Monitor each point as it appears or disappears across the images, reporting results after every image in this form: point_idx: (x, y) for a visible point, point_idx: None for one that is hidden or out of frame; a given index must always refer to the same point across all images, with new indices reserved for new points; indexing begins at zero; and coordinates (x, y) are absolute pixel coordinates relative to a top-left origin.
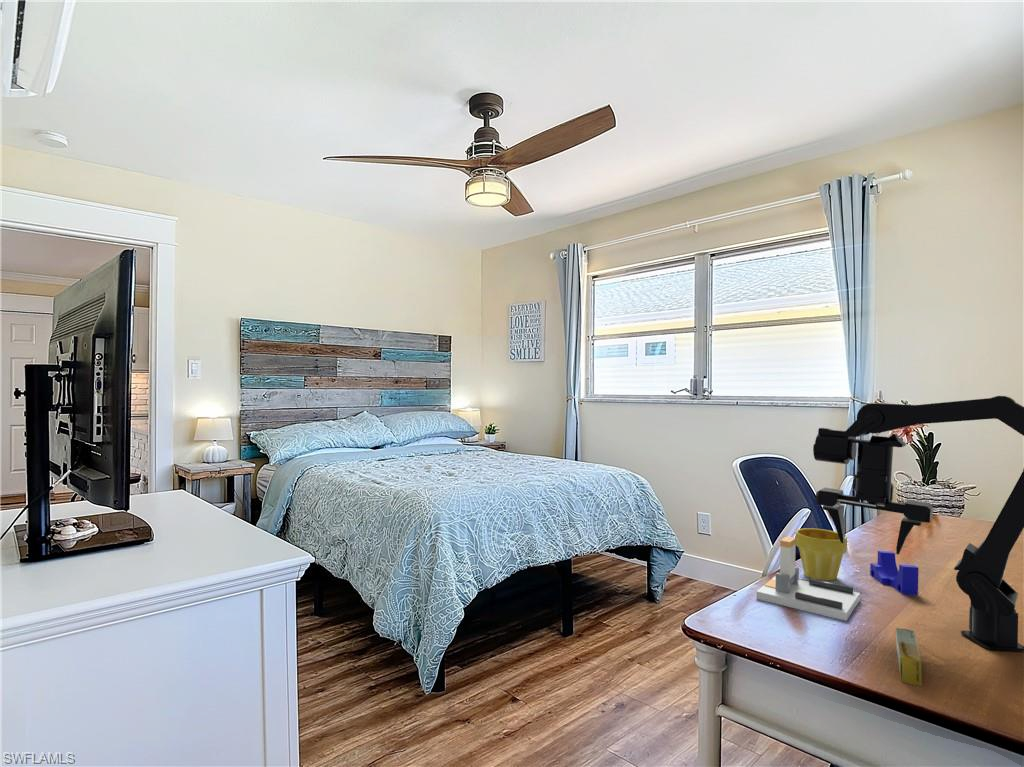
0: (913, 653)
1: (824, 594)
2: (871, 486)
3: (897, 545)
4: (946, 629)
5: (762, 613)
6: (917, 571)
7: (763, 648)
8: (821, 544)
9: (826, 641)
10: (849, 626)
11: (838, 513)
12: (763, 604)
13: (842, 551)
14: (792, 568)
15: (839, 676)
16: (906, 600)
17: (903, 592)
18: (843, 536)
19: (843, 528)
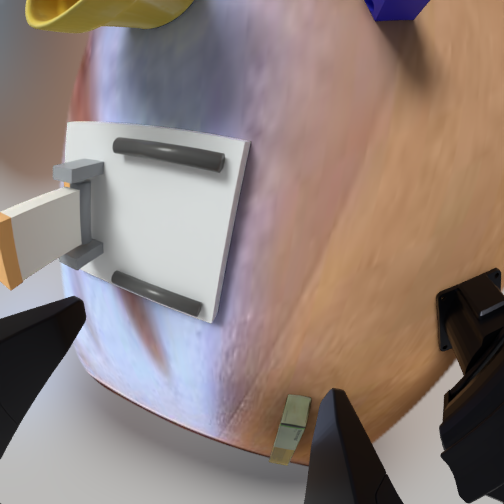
0: (284, 459)
1: (158, 215)
2: None
3: (313, 456)
4: (421, 275)
5: (107, 320)
6: None
7: (149, 405)
8: (76, 21)
9: (198, 388)
10: (223, 335)
11: (6, 447)
12: (94, 280)
13: None
14: (64, 222)
15: (220, 438)
16: (383, 74)
17: (379, 18)
18: (65, 343)
19: (33, 355)
